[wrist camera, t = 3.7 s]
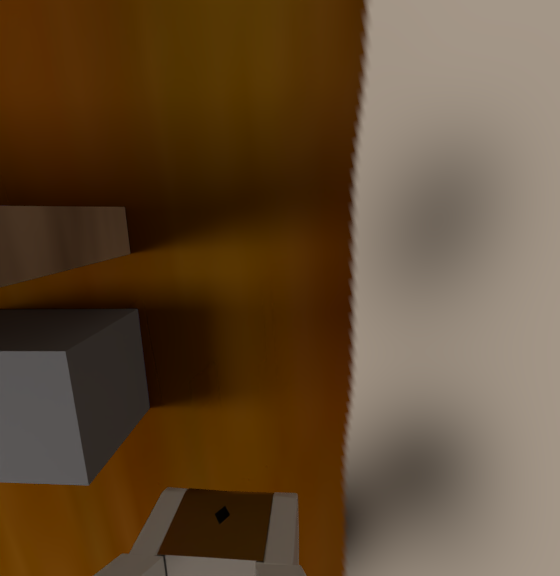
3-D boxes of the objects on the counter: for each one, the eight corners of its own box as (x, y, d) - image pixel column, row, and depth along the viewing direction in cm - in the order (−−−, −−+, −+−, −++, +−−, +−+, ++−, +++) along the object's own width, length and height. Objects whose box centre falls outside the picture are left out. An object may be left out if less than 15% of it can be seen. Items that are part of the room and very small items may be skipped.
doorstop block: (16, 404, 18) (-94, 478, 13) (-4, 308, 17) (-133, 350, 12) (150, 406, 17) (89, 485, 12) (138, 308, 16) (65, 351, 11)
